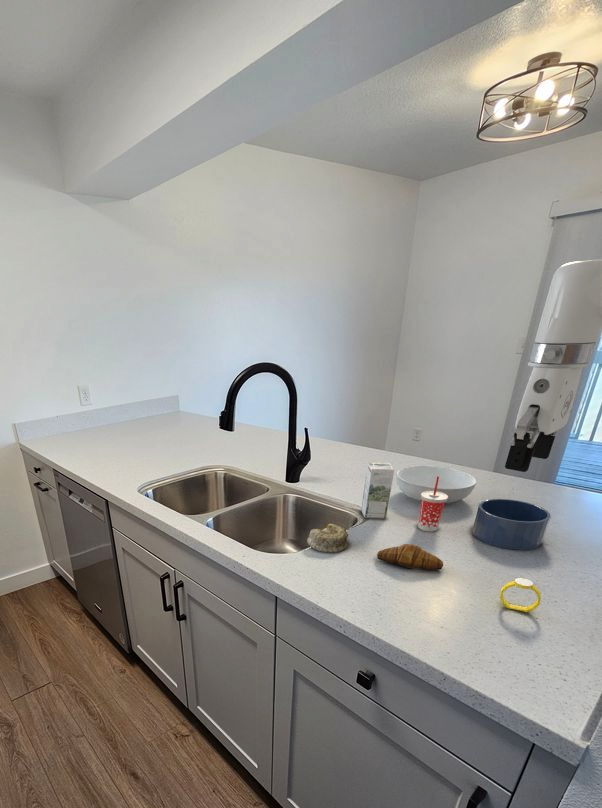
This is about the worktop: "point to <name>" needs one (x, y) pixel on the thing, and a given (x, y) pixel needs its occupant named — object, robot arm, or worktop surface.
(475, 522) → the blue pet bowl
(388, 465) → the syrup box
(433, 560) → the croissant
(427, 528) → the beverage cup
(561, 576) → the worktop surface
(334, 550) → the beige coiled mound
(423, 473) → the serving bowl
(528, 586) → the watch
